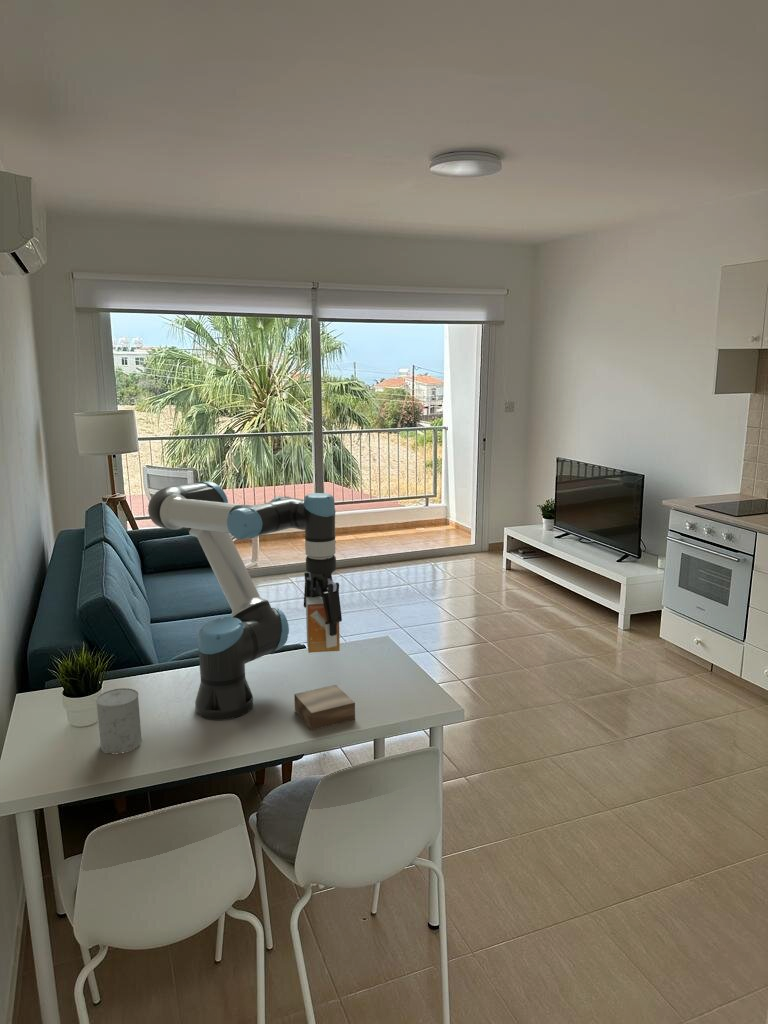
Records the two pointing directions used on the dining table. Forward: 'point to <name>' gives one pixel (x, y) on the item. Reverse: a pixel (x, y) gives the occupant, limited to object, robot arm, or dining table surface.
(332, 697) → the walnut block
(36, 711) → the dining table surface
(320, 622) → the small box
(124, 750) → the grey marble cylinder
